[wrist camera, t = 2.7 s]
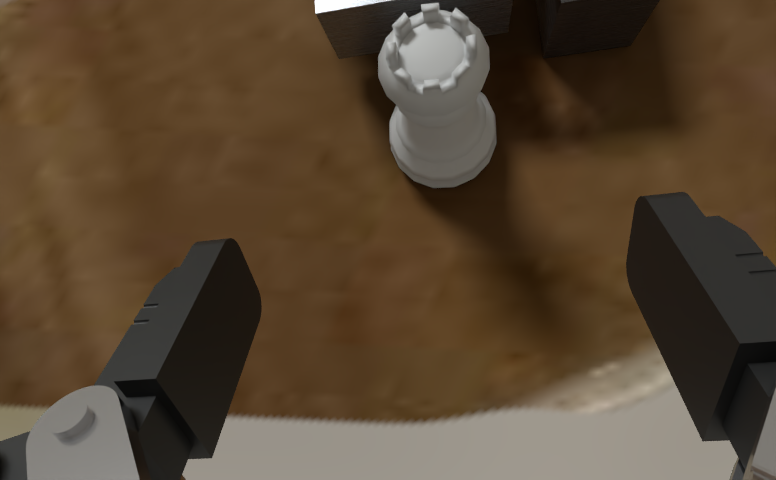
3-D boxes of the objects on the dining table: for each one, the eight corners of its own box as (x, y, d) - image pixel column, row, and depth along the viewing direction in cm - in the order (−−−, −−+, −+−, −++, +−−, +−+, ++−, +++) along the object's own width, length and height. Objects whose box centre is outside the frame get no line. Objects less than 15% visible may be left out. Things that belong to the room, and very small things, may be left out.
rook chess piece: (455, 69, 22) (450, -62, 14) (518, 150, 21) (550, 58, 13) (371, 130, 22) (319, 34, 14) (430, 211, 21) (409, 158, 13)
